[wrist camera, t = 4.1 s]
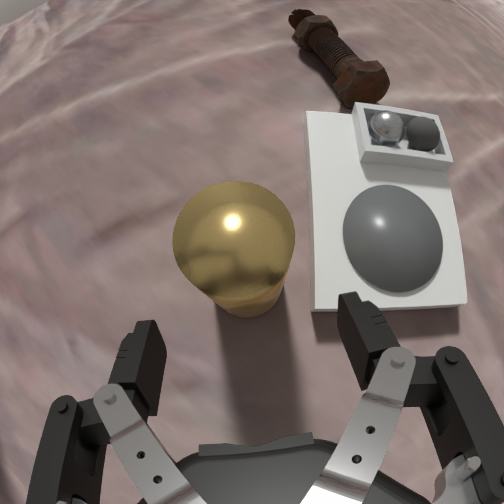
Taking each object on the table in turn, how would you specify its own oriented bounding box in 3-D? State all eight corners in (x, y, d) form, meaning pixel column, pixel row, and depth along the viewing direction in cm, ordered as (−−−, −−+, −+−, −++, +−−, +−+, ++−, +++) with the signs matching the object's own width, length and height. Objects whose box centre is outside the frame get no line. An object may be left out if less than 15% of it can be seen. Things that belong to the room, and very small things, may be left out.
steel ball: (367, 152, 23) (378, 129, 20) (361, 123, 23) (370, 100, 21) (400, 156, 22) (414, 134, 20) (394, 127, 23) (405, 105, 20)
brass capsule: (210, 316, 22) (166, 294, 12) (214, 248, 23) (179, 181, 13) (281, 318, 21) (295, 299, 12) (282, 249, 23) (294, 181, 13)
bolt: (303, 39, 32) (365, 116, 28) (271, 28, 30) (331, 106, 25) (327, 6, 28) (401, 78, 23) (294, -8, 25) (369, 61, 21)
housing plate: (310, 311, 21) (319, 305, 18) (304, 125, 26) (308, 98, 22) (453, 307, 21) (479, 300, 17) (424, 138, 25) (438, 115, 22)
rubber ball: (405, 156, 22) (418, 135, 20) (398, 128, 23) (409, 106, 20) (435, 160, 22) (450, 141, 19) (426, 133, 23) (439, 112, 20)
